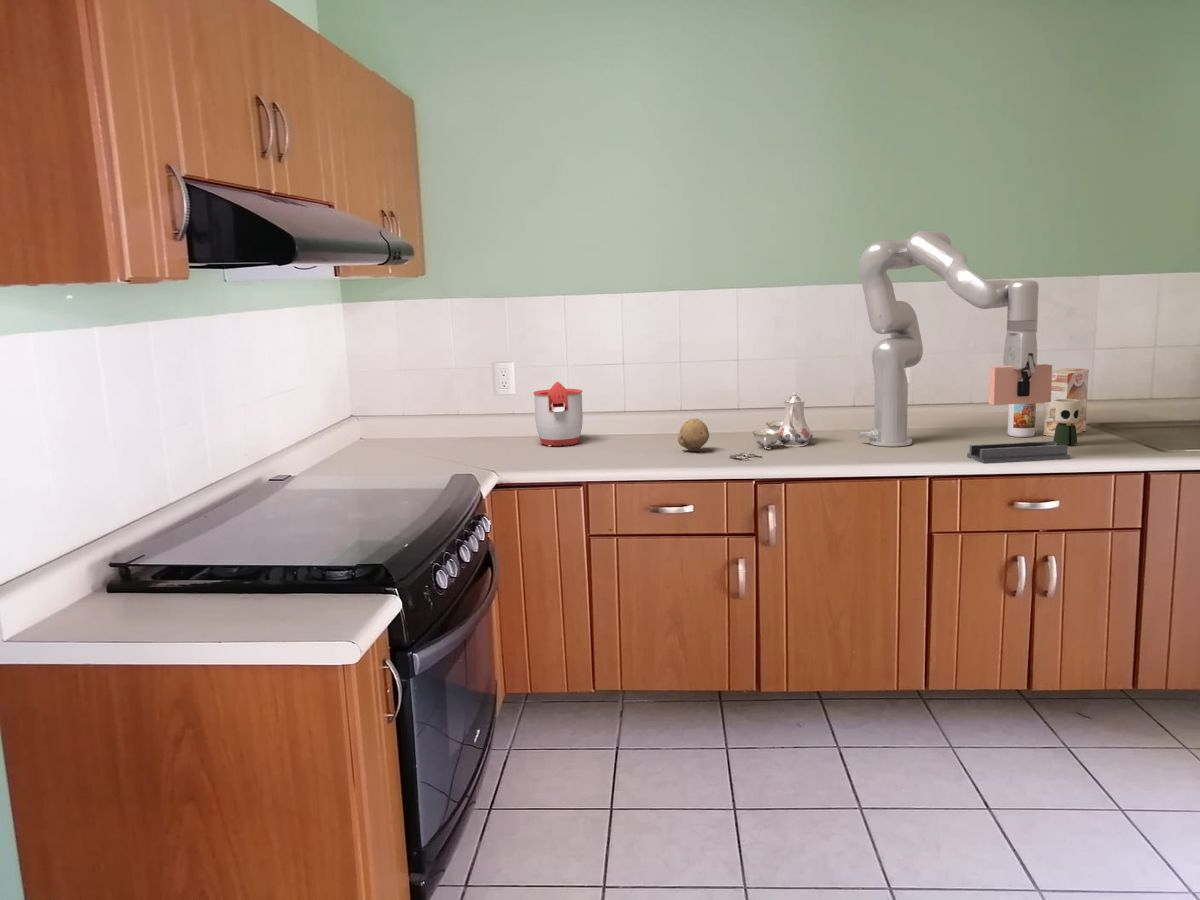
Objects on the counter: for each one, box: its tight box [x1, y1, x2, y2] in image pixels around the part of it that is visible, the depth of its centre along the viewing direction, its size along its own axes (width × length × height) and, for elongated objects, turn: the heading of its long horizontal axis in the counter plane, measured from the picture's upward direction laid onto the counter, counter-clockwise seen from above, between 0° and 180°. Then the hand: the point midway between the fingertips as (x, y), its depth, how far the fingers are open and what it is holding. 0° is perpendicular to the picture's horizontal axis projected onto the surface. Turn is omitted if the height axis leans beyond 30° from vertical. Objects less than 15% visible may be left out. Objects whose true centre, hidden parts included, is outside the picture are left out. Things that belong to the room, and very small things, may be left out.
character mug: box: [1048, 399, 1087, 445], centre depth 296 cm, size 11×7×13 cm, turn 91°
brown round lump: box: [677, 418, 710, 453], centre depth 306 cm, size 9×9×10 cm
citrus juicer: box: [532, 381, 584, 447], centre depth 326 cm, size 16×17×20 cm
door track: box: [966, 440, 1071, 464], centre depth 280 cm, size 24×10×4 cm, turn 95°
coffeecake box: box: [1042, 367, 1090, 437], centre depth 314 cm, size 15×7×20 cm, turn 132°
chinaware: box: [752, 391, 814, 450], centre depth 313 cm, size 28×17×17 cm, turn 162°
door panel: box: [988, 363, 1053, 406], centre depth 277 cm, size 16×3×10 cm, turn 95°
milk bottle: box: [1007, 403, 1037, 438], centre depth 313 cm, size 8×8×20 cm
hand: (1019, 394), depth 278 cm, fingers closed on door panel, 3 cm apart
